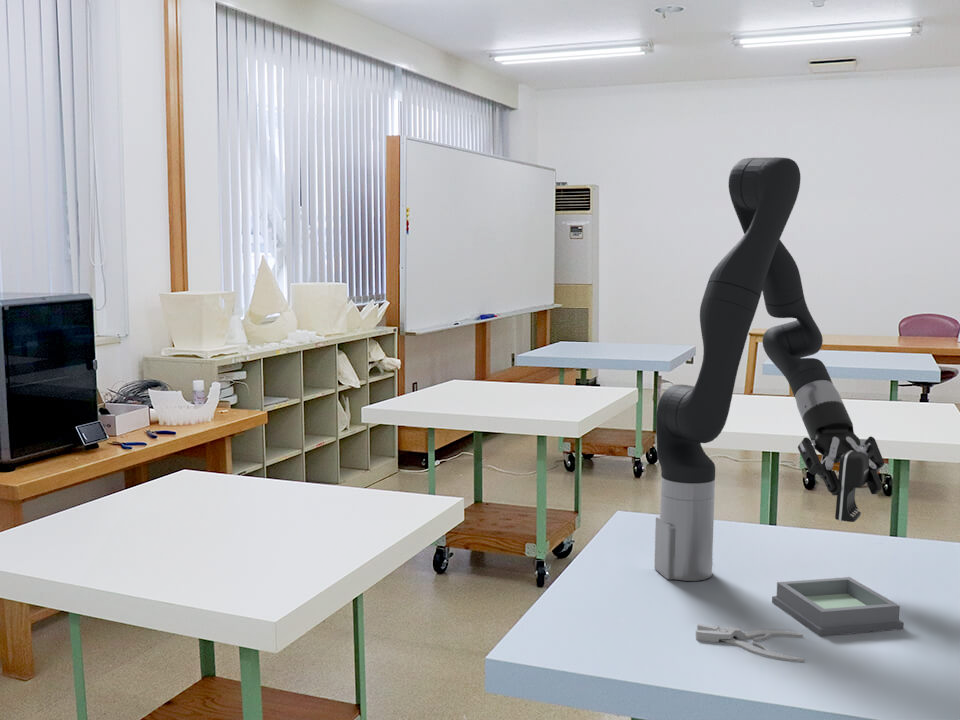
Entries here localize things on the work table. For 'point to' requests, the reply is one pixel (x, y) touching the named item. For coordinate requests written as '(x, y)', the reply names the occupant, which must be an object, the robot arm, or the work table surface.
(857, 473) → the battery charger
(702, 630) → the pliers
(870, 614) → the tray
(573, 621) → the work table surface
